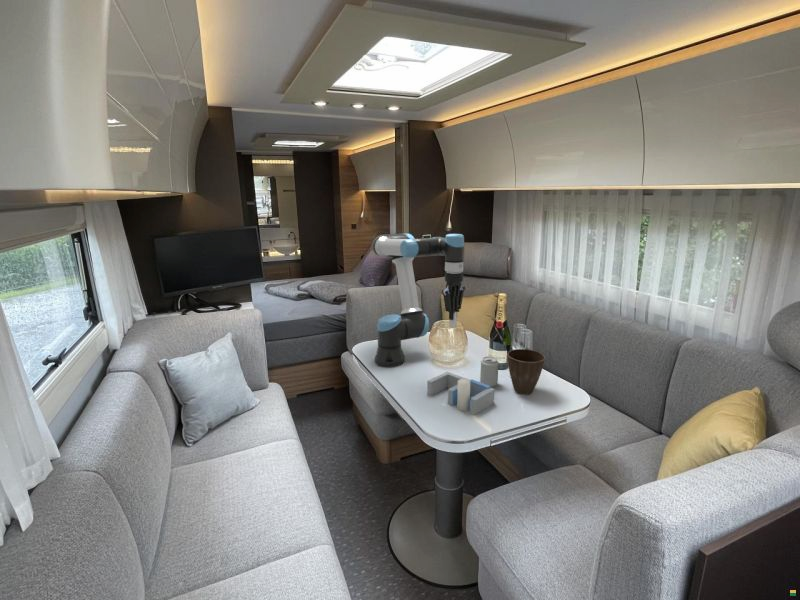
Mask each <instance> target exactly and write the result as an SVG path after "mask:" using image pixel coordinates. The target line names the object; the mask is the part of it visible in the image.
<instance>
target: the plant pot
mask: <svg viewBox="0 0 800 600" xmlns="http://www.w3.org/2000/svg"><path fill="white" fill-rule="evenodd" d="M545 359H546V356H545V355H544V354H543V353H541V352H539V351H536V350H533V349H526V348H516V349H515V348H514V349H512V350H508V352H507V363H508V364H507V365H508V370H509V372H508V373H509V375H510V381H511V384H512V386H513V389H514V391H515V392H516V393H517V394H521V395H530V394H532V393H533V392H534V391H535V388H536V386H537V384H538V382H539V380H540V378H541V377H540V376H541V374H542V371H543V368H544V364H545Z"/></svg>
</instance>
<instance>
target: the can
mask: <svg viewBox="0 0 800 600" xmlns="http://www.w3.org/2000/svg"><path fill="white" fill-rule="evenodd" d="M479 377H480V378H479V379H480V380H479V382H481V383H483V384H486V385H489V386H490V387H491V388H493V387H495V386H496V385H498V382H499V380H498V379H499V361H498V358H497V357H495V356H487V355H486V356H484V357H482V360H480V375H479Z"/></svg>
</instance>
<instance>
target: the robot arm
mask: <svg viewBox="0 0 800 600" xmlns="http://www.w3.org/2000/svg"><path fill="white" fill-rule="evenodd" d="M371 250H372V253H373V254H374V255H375V256H377V257H380V258H391V261H392V263H394V264H395V270H396V271H395V272H396V276H397V282H398V289H399V296H400V300H401V301H400V302H401V308H402V310H401V312H400V314H397V313H396V314H391V313H390V314H387V315H383V316H381V317H379V318H378V320H377V327H376V329H377V348H376V349H377V350H376V353H375V356H374V362H375V365H377V366H380V367H383V368H394V367H399V366H402V365H403V364H404V363H405V362H406V360H405V359H406V357H405V354H404V351H403V348H402V341H405V340H411V339H415V338H417V339H418V338H421V337H425V336H426V335H427V334H428V332H429V329H430V321H429V317H428V315H427V314H426V313H424V312H423V309H422V308H420V304H419V298H418V293H417V292H418V291H417V286H416V278H415V273H414V268H413V267H414V266H413V261H414V259H415V258H421V257H434V256H442V257H443V256H444V258H445V259H444V271H445V272H444V282H446V285H445V288H444V289H442V290H441V294H442V296H443V301H444V309H445V312H448V319H449V320H448V321H449V322H448V323H449V324H448V326H449V327H450V328H457V327H458V326H457V322H458V321H457V320H458V313H459V312H460V310H461V309H462V303H463V297H464V293H465V289H466V286H463V285H462V282H463V281H464V273H463V272H464V257H465V256H464V255H465V236H464V235H463V234H462V233H448V234H446V235H445V237H441V236H434V237H427V238H426V237H425V238H415V237H414V236H413V235H412V234H411V233H402V232H401V233H392V234H391V233H389V234H380V235H378V236H376V237H375V238H374V239H373V240H372V242H371Z"/></svg>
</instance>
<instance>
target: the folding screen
mask: <svg viewBox="0 0 800 600" xmlns="http://www.w3.org/2000/svg"><path fill="white" fill-rule="evenodd" d="M460 379H467V380H470V408H469V413H470V414H472V415H475V416H476V415H477V414H479V413H480V412H482V411H483V410H485V409H486V408H488V407H490V406H491V405H493V404H494V403H495V393H496V392H495V388H493V387H490V386H489V385H486V384H483V383H481V382H480V381H477V380H475V379H468V378H465V377H464V376H460V375H457V374H455V373H452V372H450V371H446V372H443V373H441V374H439V375H437V376H435V377H432V378H431V379H429V380H427V384H426V385H427V386H426V387H427V389H426V390H427V395H429V396H433V395H435V394H437V393H439V392H441V391H443V390H445V389H447V403H448V404H450V405H451V406H454V405H455V404H456V405H457V394H458V380H460Z"/></svg>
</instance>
